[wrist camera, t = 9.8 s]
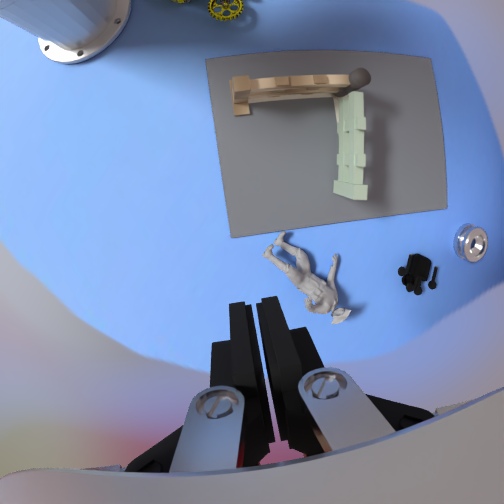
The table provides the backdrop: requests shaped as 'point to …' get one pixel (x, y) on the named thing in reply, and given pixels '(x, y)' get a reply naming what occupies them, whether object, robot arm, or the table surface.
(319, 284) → the soldier figure
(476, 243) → the grooved metal pulley
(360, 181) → the fence swing section
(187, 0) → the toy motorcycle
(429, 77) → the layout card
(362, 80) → the fence fixed section
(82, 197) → the table surface
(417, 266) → the wireless earbuds
